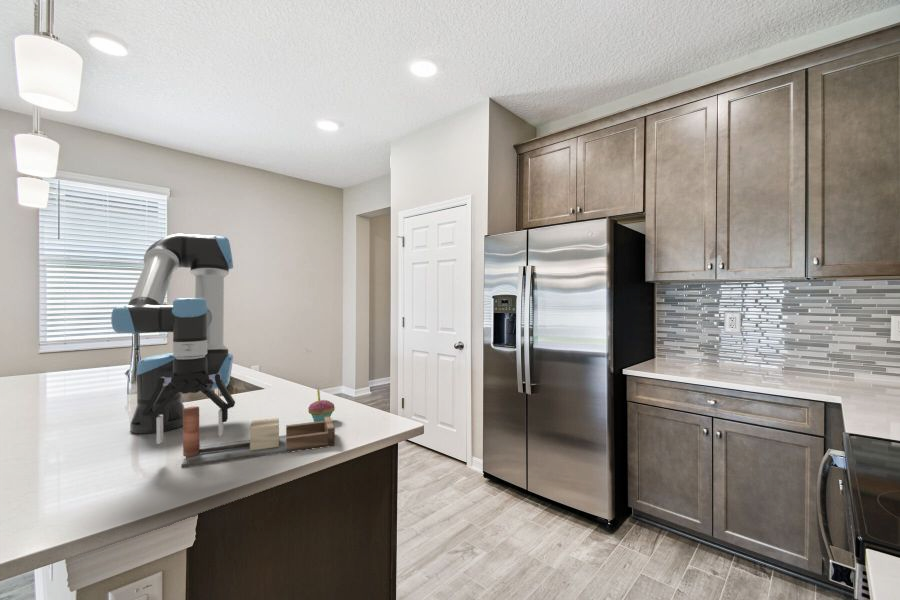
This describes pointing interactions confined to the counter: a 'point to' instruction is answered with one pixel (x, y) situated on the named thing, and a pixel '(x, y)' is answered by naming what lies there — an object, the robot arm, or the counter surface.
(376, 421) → the counter surface
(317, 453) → the counter surface
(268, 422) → the rod with end block
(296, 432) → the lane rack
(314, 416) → the cupcake
